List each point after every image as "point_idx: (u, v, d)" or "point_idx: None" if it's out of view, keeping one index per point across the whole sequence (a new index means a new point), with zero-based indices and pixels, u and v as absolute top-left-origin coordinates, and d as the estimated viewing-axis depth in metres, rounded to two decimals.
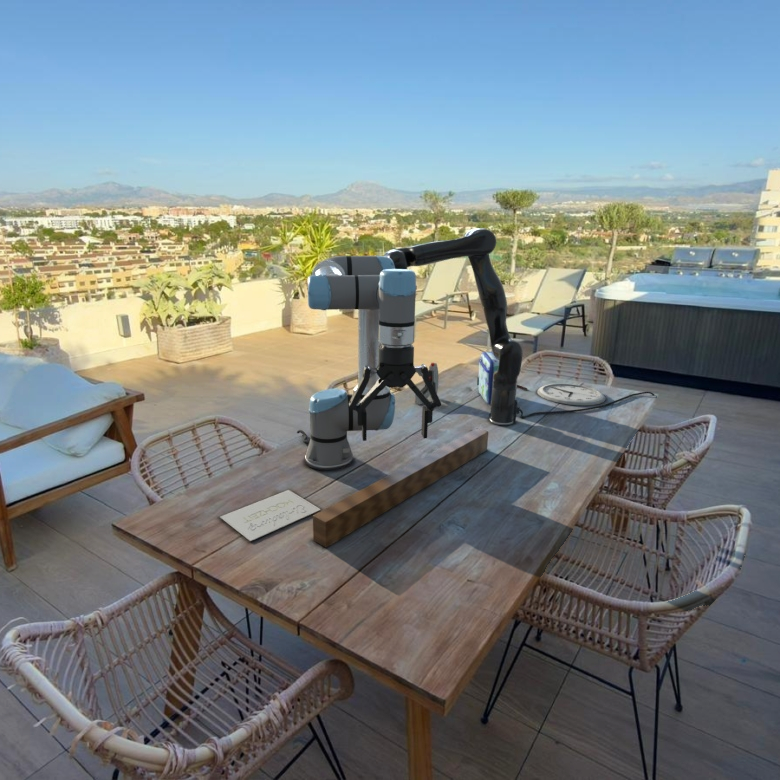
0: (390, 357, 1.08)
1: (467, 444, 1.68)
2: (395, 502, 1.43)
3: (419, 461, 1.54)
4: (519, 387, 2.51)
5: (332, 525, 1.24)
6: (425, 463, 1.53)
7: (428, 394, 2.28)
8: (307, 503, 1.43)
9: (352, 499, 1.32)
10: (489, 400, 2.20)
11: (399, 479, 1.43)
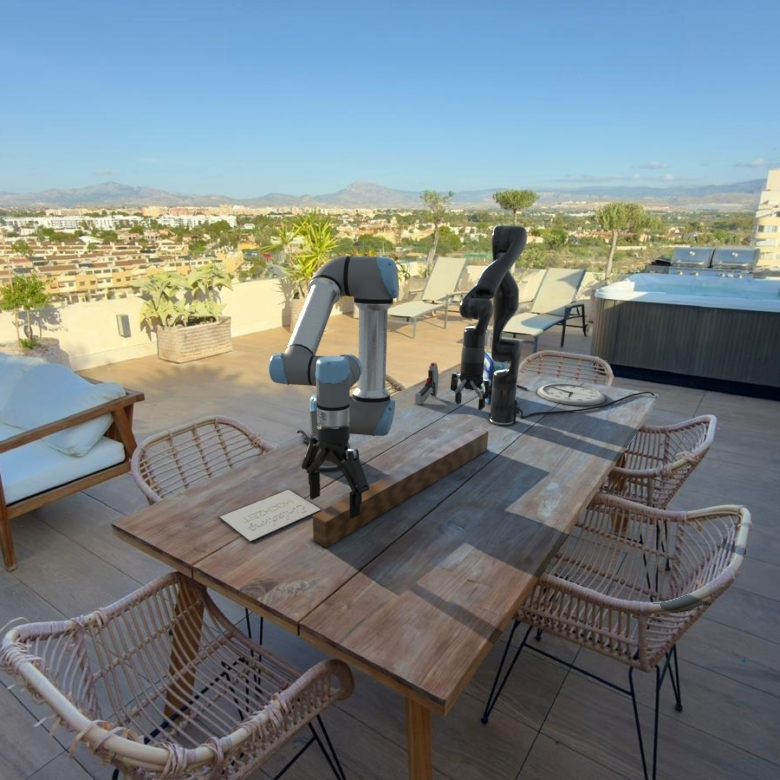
0: (317, 433, 1.20)
1: (467, 444, 1.68)
2: (395, 502, 1.43)
3: (419, 461, 1.54)
4: (519, 387, 2.51)
5: (332, 525, 1.24)
6: (425, 463, 1.53)
7: (428, 394, 2.28)
8: (307, 503, 1.43)
9: None
10: (489, 400, 2.20)
11: (399, 479, 1.43)
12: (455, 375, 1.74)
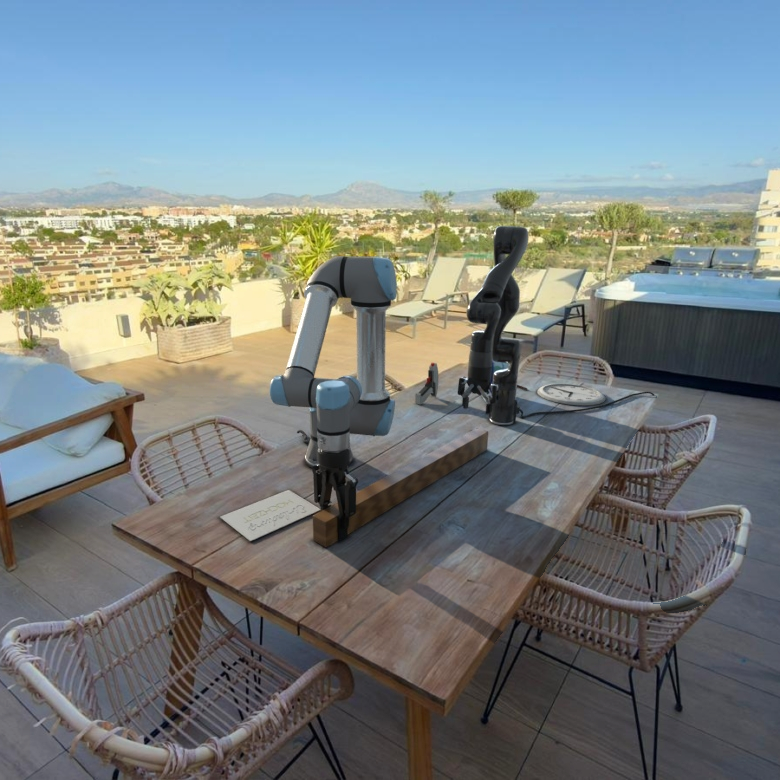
0: (318, 457, 1.21)
1: (467, 444, 1.68)
2: (395, 502, 1.43)
3: (419, 461, 1.54)
4: (519, 387, 2.51)
5: (332, 525, 1.24)
6: (425, 463, 1.53)
7: (428, 394, 2.28)
8: (307, 503, 1.43)
9: None
10: None
11: (399, 479, 1.43)
12: (462, 379, 1.73)
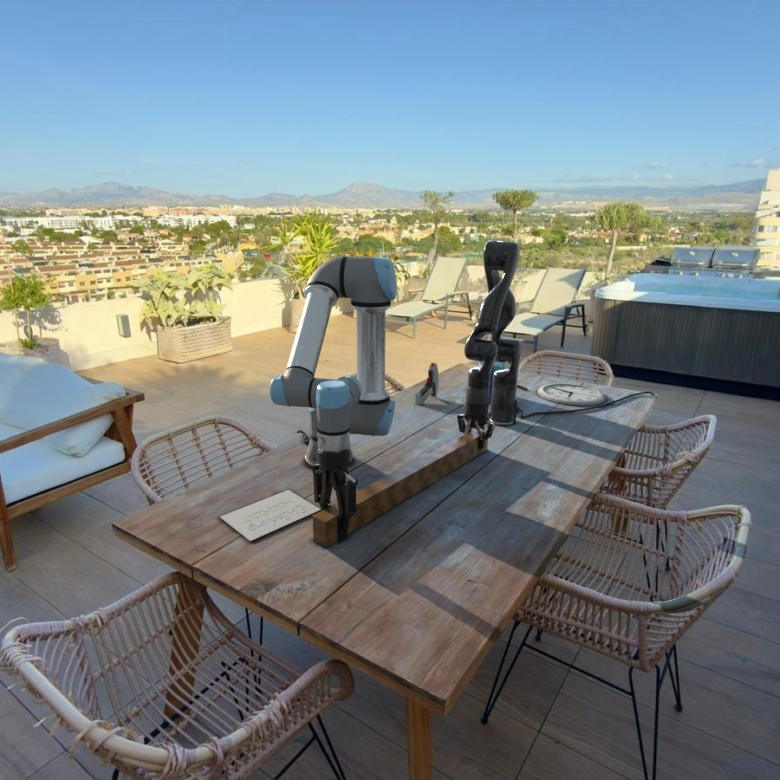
0: (318, 457, 1.21)
1: (467, 444, 1.68)
2: (395, 502, 1.43)
3: (419, 461, 1.54)
4: (519, 387, 2.51)
5: (332, 525, 1.24)
6: (425, 463, 1.53)
7: (428, 394, 2.28)
8: (307, 503, 1.43)
9: None
10: (489, 400, 2.20)
11: (399, 479, 1.43)
12: (460, 416, 1.77)
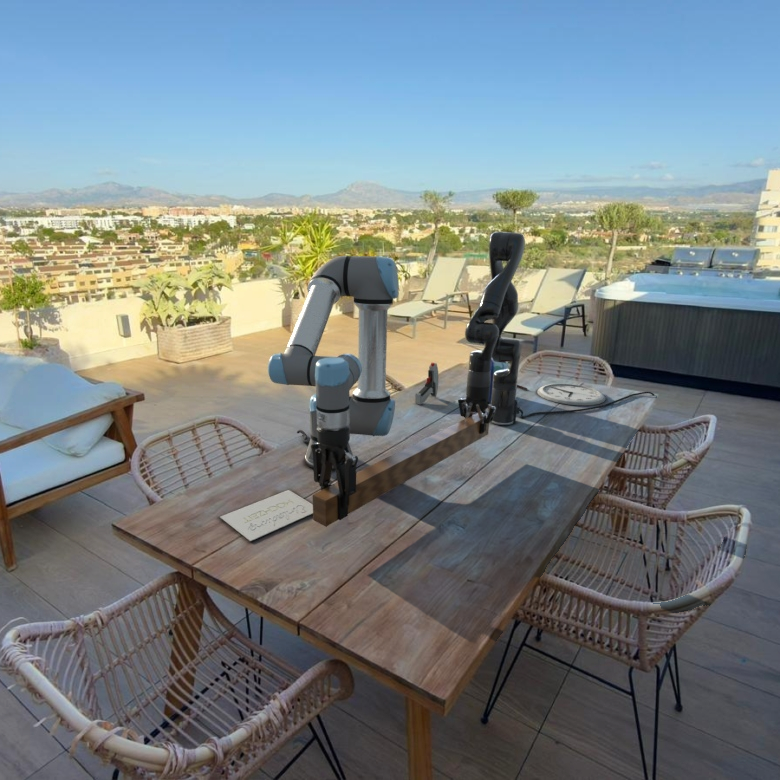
0: (317, 435, 1.20)
1: (468, 427, 1.67)
2: (396, 484, 1.42)
3: (420, 443, 1.53)
4: (519, 387, 2.51)
5: (332, 504, 1.23)
6: (426, 445, 1.52)
7: (428, 394, 2.28)
8: (307, 503, 1.43)
9: None
10: (489, 400, 2.20)
11: (400, 460, 1.42)
12: (461, 400, 1.75)
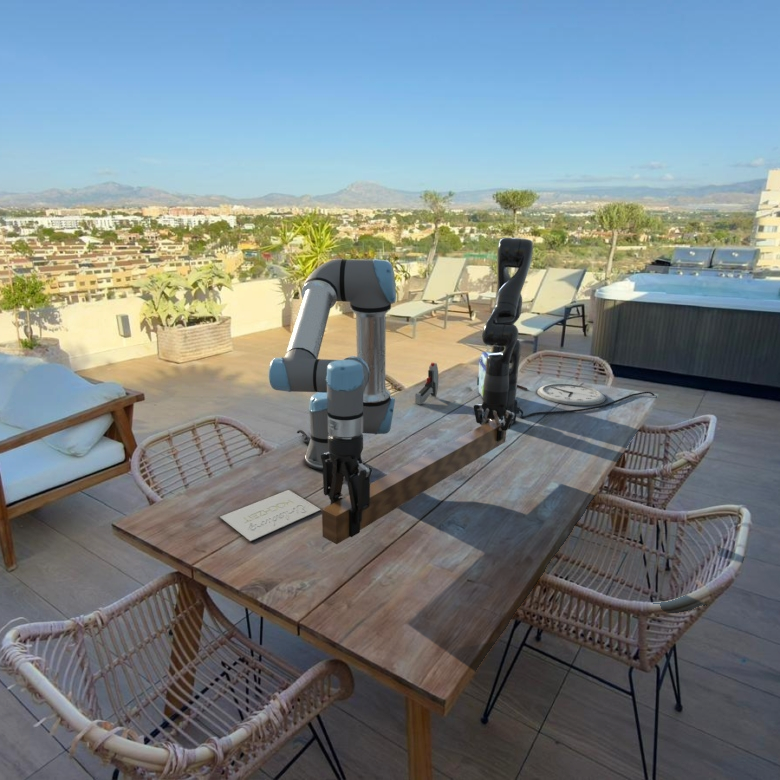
0: (328, 444, 1.10)
1: (485, 435, 1.57)
2: (411, 496, 1.32)
3: (435, 452, 1.43)
4: (519, 387, 2.51)
5: (344, 520, 1.13)
6: (441, 454, 1.42)
7: (428, 394, 2.28)
8: (307, 503, 1.43)
9: None
10: None
11: (415, 471, 1.32)
12: (477, 406, 1.66)
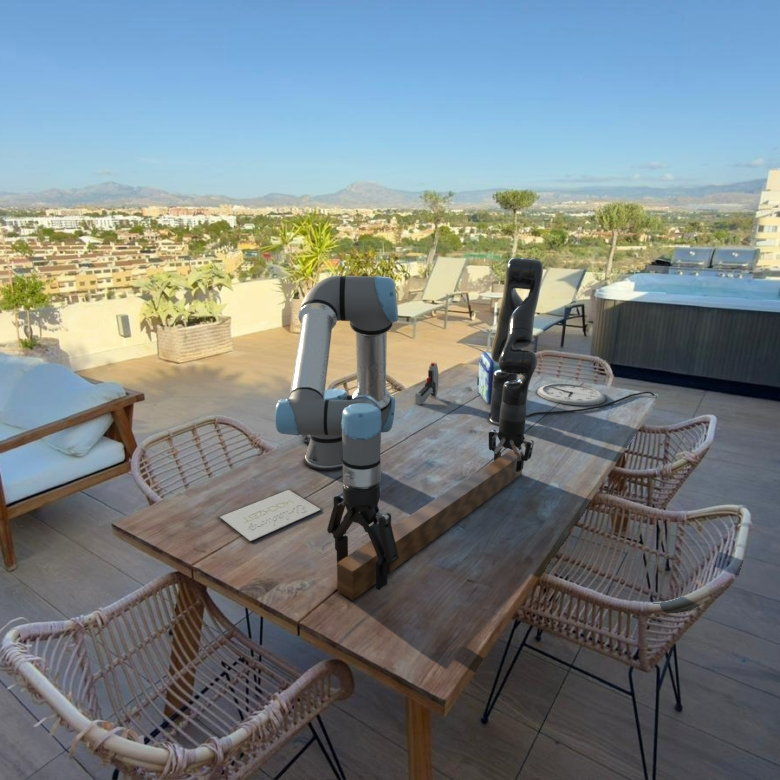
0: (343, 493, 1.03)
1: (502, 470, 1.51)
2: (428, 541, 1.26)
3: (452, 491, 1.37)
4: None
5: (360, 574, 1.07)
6: (458, 494, 1.36)
7: (428, 394, 2.28)
8: (307, 503, 1.43)
9: None
10: (489, 400, 2.20)
11: (432, 514, 1.26)
12: (492, 433, 1.59)
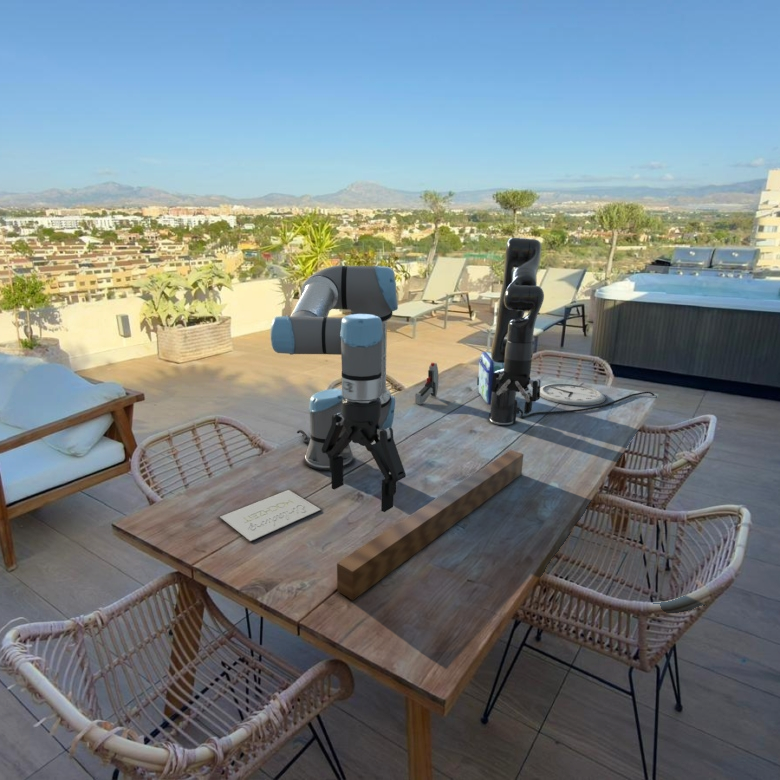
0: (342, 409, 0.98)
1: (502, 470, 1.51)
2: (428, 541, 1.26)
3: (452, 491, 1.37)
4: None
5: (360, 574, 1.07)
6: (458, 494, 1.36)
7: (428, 394, 2.28)
8: (307, 503, 1.43)
9: (380, 540, 1.15)
10: (489, 400, 2.20)
11: (432, 514, 1.26)
12: (497, 374, 1.53)
